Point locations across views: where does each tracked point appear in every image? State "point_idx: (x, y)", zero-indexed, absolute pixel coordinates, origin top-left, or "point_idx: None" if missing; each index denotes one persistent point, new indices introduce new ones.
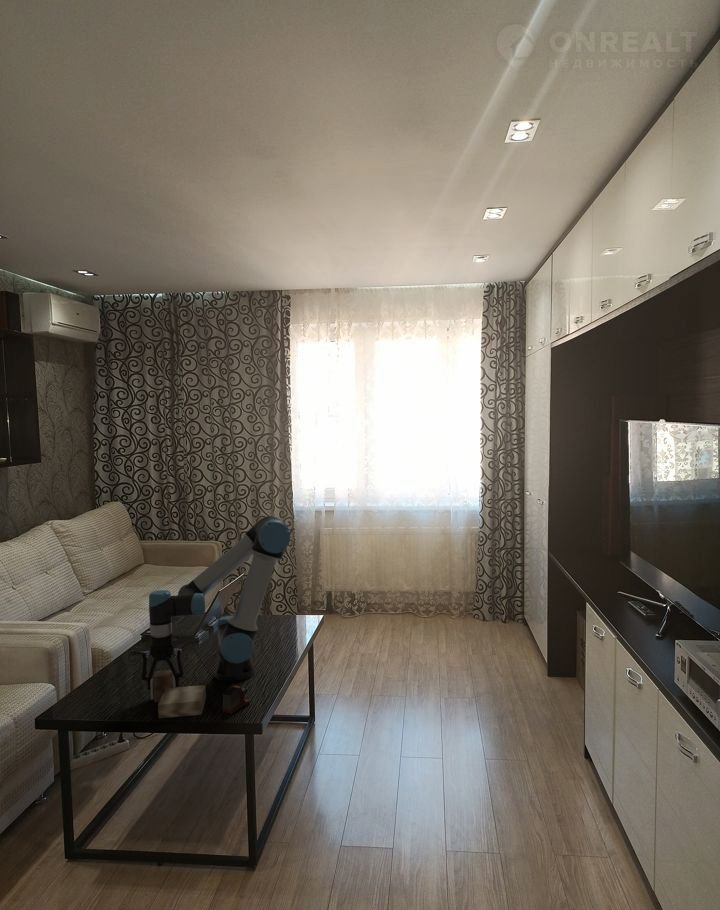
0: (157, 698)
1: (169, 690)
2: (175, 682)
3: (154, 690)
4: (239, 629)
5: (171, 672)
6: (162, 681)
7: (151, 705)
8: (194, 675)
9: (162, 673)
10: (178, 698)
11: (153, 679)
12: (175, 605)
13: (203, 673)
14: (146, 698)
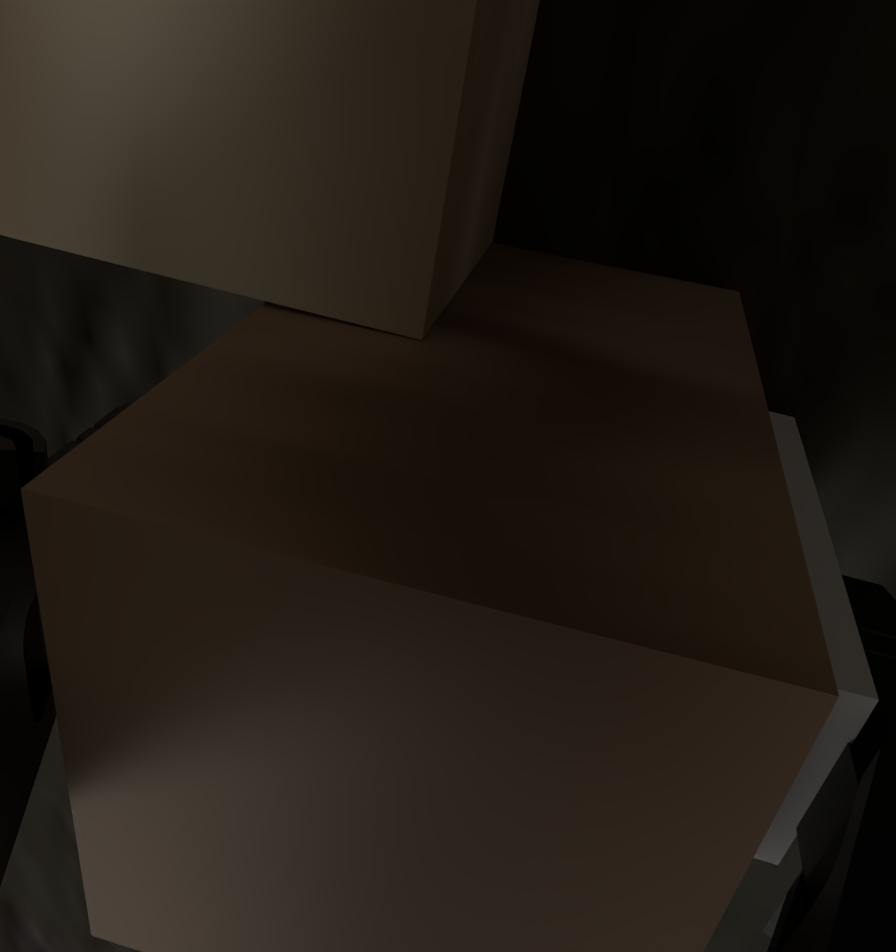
0: (668, 300)
1: (289, 86)
2: None
3: (746, 397)
4: None
5: (76, 770)
6: (448, 458)
7: (840, 116)
8: None
9: (394, 850)
10: None
11: (814, 615)
12: None
13: (47, 902)
14: (858, 552)
